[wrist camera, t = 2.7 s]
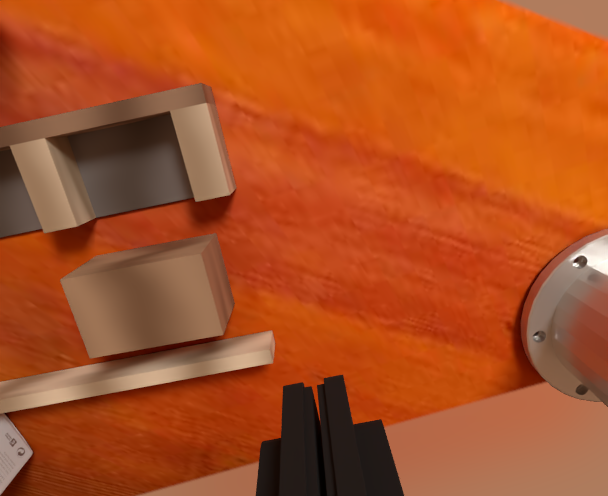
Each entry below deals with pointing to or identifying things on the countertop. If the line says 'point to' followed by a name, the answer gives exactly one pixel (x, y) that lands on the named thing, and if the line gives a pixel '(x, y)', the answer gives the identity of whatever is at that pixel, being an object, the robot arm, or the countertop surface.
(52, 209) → the tray
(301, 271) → the countertop surface
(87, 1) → the countertop surface
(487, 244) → the countertop surface
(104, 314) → the block
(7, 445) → the skincare box
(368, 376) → the countertop surface
